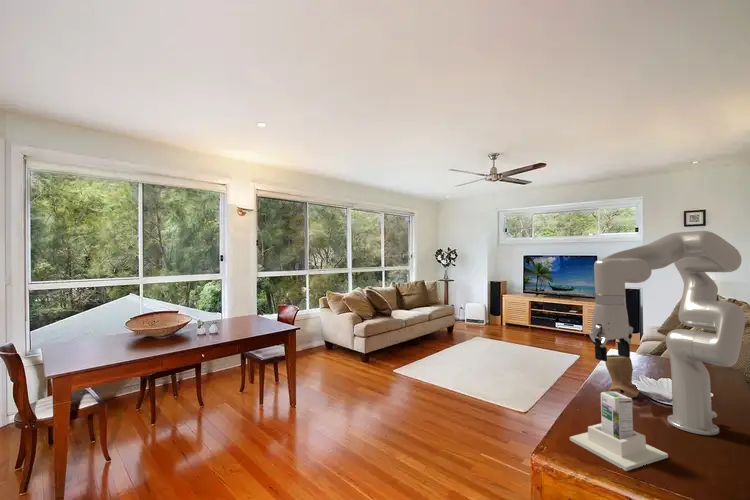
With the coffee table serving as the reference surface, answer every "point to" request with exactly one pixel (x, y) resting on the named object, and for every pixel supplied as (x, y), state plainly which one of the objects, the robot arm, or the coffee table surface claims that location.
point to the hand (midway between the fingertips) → (612, 358)
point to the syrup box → (616, 415)
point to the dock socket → (619, 448)
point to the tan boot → (621, 375)
